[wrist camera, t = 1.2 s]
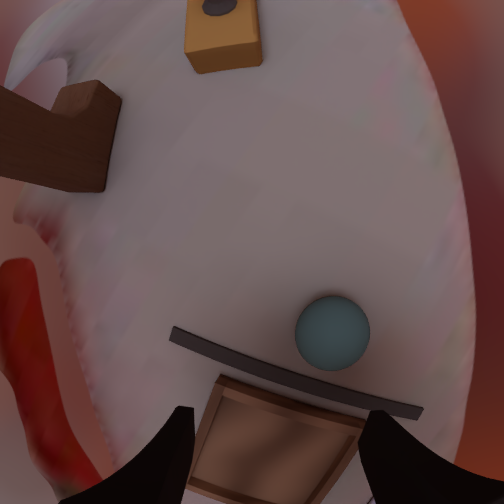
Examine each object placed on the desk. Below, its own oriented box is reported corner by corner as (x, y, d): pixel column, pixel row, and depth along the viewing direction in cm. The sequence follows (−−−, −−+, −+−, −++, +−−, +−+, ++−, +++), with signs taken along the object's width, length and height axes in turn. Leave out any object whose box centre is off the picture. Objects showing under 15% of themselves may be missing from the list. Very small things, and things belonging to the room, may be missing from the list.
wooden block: (86, 103, 25) (-47, 20, 7) (123, 98, 24) (-13, -9, 7) (68, 192, 25) (-99, 155, 7) (105, 193, 25) (-80, 144, 7)
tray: (365, 419, 22) (369, 430, 20) (304, 511, 23) (303, 523, 21) (220, 373, 23) (215, 382, 22) (183, 474, 24) (177, 485, 22)
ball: (371, 304, 22) (390, 318, 17) (345, 364, 22) (357, 391, 17) (309, 281, 23) (313, 291, 18) (285, 344, 23) (282, 368, 18)
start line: (422, 407, 21) (423, 408, 21) (416, 419, 21) (417, 420, 21) (174, 326, 24) (172, 327, 24) (170, 339, 24) (168, 340, 24)
